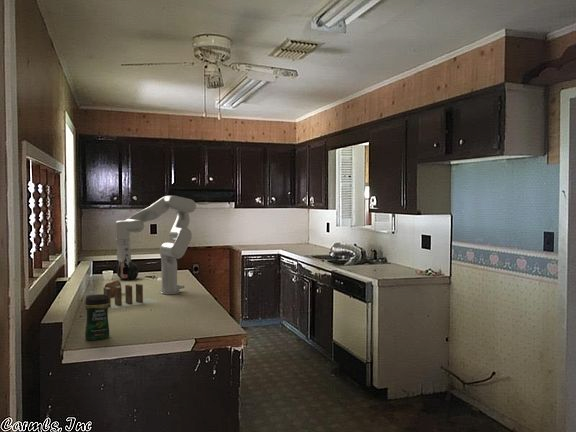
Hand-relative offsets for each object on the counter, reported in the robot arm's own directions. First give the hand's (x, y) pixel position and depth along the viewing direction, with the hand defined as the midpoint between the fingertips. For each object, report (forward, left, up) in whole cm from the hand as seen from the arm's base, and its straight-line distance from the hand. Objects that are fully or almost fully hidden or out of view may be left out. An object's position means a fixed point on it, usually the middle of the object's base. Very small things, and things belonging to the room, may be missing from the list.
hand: (123, 273), depth 282 cm
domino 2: (+8, +12, -15) cm, 21 cm away
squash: (-29, -69, -16) cm, 77 cm away
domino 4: (+2, +12, -15) cm, 20 cm away
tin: (0, -19, -16) cm, 25 cm away
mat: (+3, +12, -16) cm, 20 cm away
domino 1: (+14, +12, -15) cm, 24 cm away
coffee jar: (+37, +67, -16) cm, 78 cm away
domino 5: (-4, +12, -15) cm, 20 cm away
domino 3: (0, 0, -3) cm, 3 cm away
